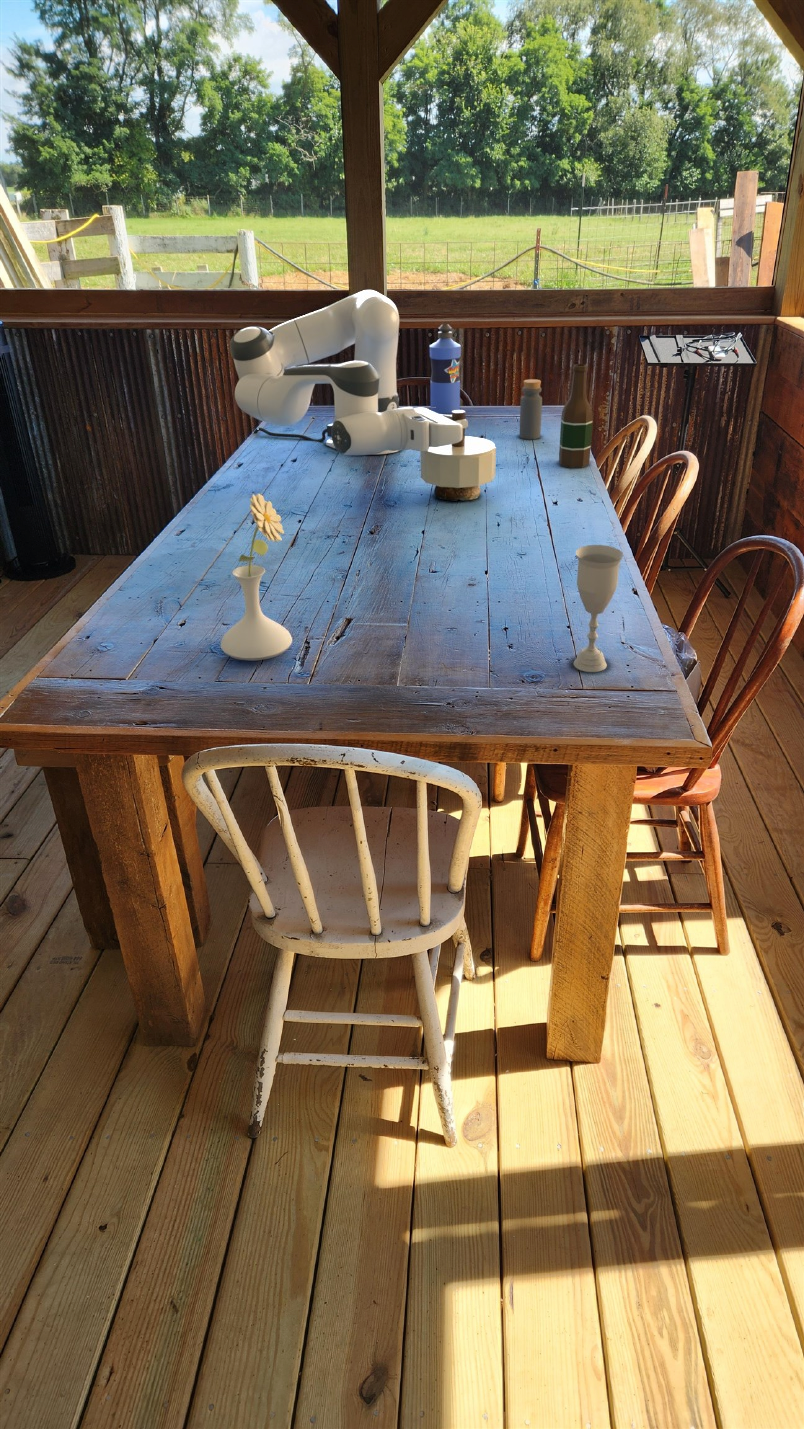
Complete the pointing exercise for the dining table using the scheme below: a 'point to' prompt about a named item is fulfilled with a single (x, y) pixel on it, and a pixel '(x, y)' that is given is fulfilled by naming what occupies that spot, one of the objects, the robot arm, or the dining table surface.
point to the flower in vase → (256, 597)
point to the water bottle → (445, 372)
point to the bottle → (530, 410)
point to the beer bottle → (576, 423)
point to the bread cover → (460, 461)
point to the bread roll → (457, 493)
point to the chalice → (596, 595)
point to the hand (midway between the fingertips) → (461, 420)
